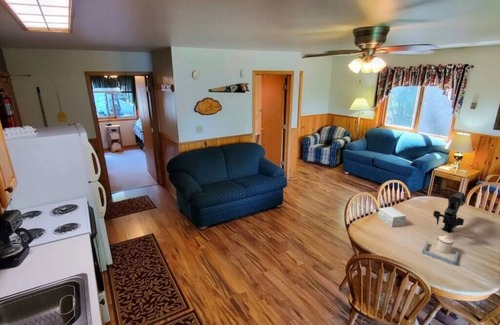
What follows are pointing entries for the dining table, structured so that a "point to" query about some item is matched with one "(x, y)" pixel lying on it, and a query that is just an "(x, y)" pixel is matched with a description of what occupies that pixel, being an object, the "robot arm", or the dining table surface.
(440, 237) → the teacup with lid
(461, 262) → the dining table surface
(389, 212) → the supplement box
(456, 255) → the dock
